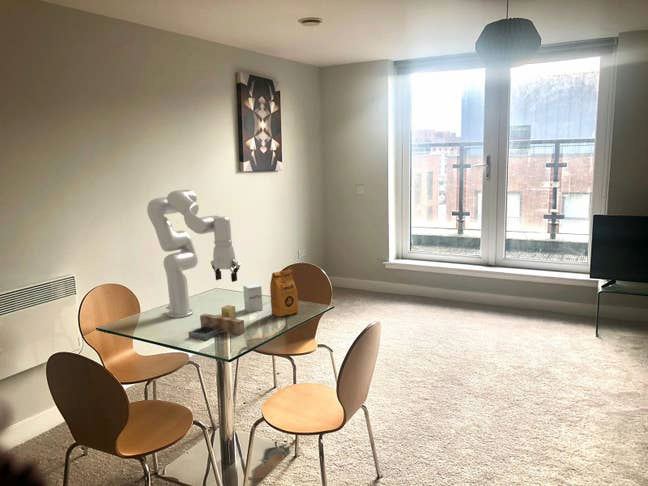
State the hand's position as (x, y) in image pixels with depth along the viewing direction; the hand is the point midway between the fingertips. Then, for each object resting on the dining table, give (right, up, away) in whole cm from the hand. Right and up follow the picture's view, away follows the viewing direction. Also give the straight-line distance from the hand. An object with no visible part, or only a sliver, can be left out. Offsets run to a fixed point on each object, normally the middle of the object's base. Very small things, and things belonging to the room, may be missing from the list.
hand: (226, 280), depth 244 cm
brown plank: (-1, -23, -3) cm, 23 cm away
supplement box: (+9, -17, +28) cm, 34 cm away
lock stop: (+1, -21, +4) cm, 22 cm away
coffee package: (+26, -18, +17) cm, 36 cm away
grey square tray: (-8, -24, -10) cm, 27 cm away
